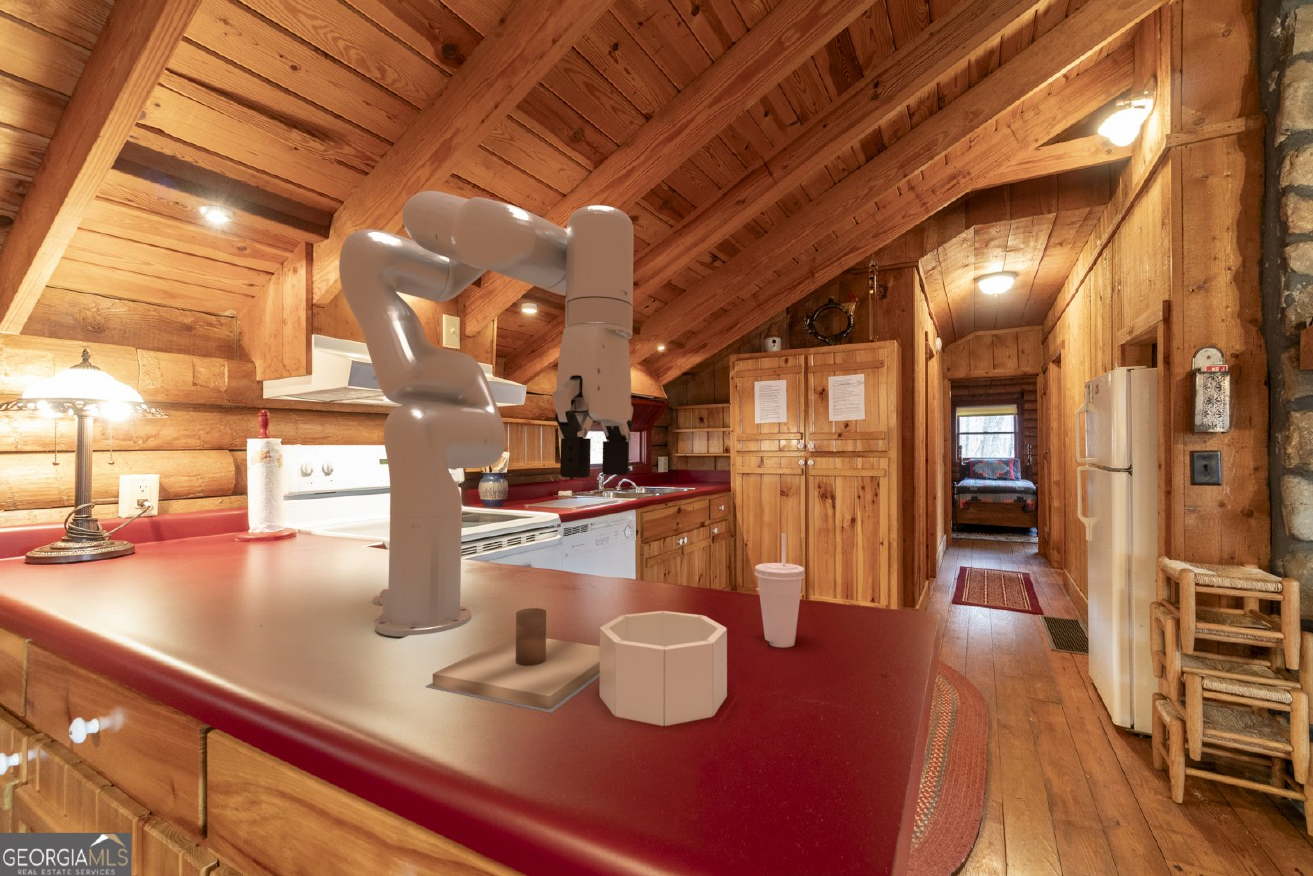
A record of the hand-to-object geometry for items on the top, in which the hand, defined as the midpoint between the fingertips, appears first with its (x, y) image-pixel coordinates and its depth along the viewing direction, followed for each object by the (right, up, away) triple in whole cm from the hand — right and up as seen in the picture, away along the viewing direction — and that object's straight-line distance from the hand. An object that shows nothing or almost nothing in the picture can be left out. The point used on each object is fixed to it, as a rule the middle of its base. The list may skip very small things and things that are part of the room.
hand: (596, 475), depth 62 cm
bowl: (+7, -22, -7) cm, 24 cm away
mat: (-7, -22, -1) cm, 23 cm away
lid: (-7, -21, -1) cm, 22 cm away
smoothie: (+23, -23, +10) cm, 33 cm away
